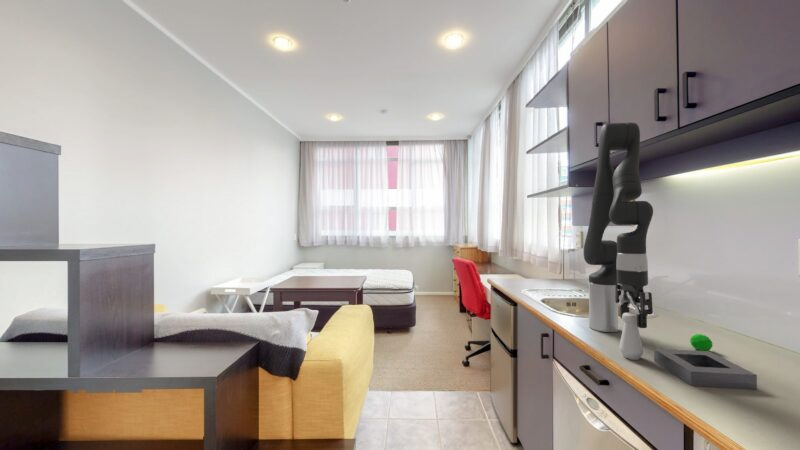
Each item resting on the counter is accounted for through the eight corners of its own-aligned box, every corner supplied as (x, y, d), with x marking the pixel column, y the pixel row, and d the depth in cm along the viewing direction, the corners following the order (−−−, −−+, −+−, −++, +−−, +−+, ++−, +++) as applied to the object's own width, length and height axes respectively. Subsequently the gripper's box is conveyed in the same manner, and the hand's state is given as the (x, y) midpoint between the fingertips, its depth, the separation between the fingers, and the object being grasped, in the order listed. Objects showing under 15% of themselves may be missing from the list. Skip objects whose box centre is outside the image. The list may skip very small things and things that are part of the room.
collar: (654, 360, 92) (654, 348, 91) (709, 363, 89) (709, 351, 89) (690, 385, 78) (690, 371, 78) (756, 389, 76) (756, 374, 76)
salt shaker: (639, 363, 90) (638, 317, 90) (616, 356, 95) (615, 313, 95) (646, 357, 94) (646, 314, 94) (623, 351, 98) (623, 309, 98)
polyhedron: (686, 348, 100) (686, 333, 100) (697, 346, 102) (697, 331, 101) (704, 354, 95) (704, 338, 95) (716, 352, 97) (716, 337, 97)
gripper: (605, 265, 102) (607, 316, 101) (632, 271, 87) (633, 330, 87) (631, 265, 100) (632, 316, 100) (662, 271, 86) (663, 331, 86)
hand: (633, 323), depth 94 cm, fingers open, 8 cm apart
